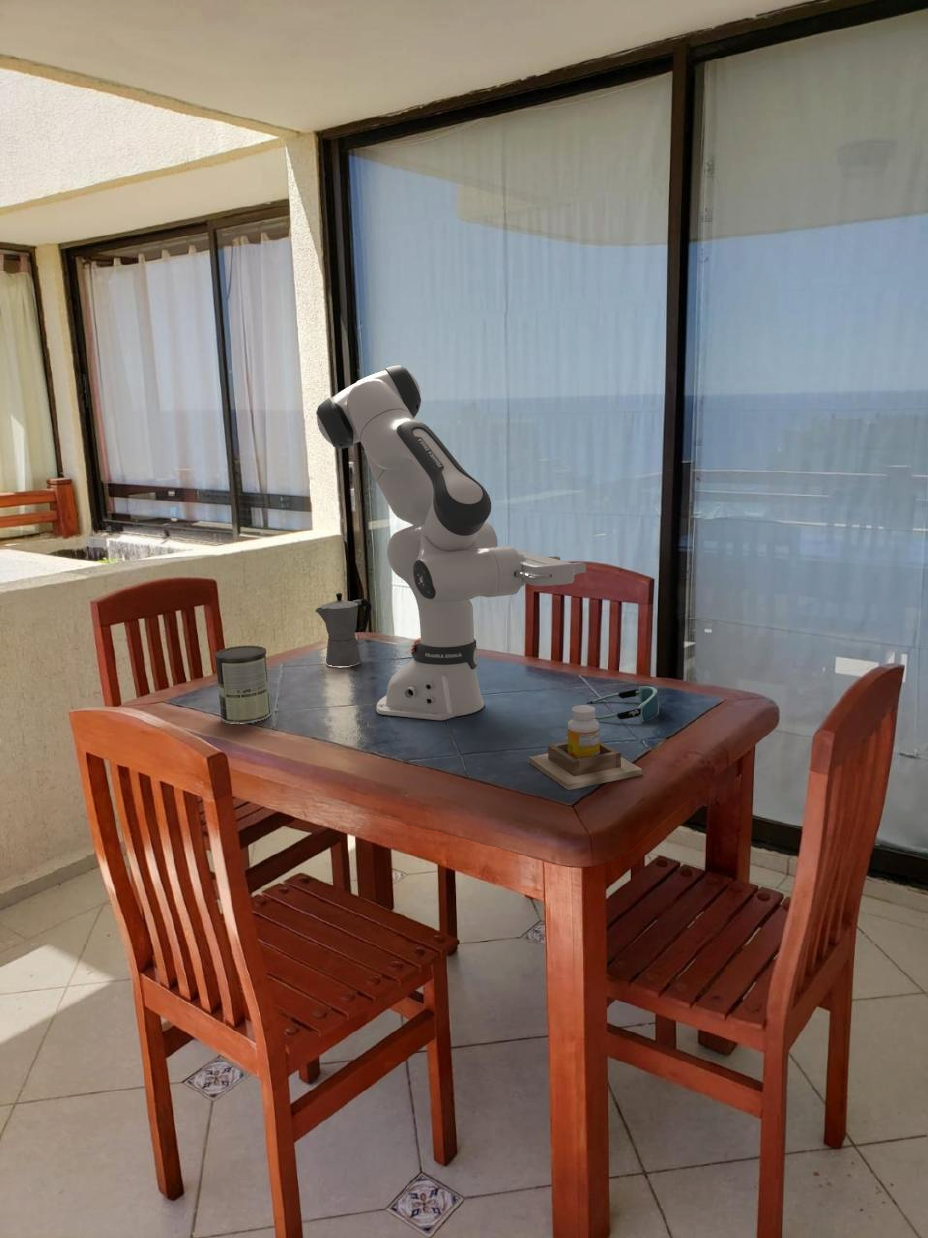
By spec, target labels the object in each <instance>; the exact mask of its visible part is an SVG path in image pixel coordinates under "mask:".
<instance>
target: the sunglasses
mask: <svg viewBox="0 0 928 1238" xmlns="http://www.w3.org/2000/svg"><path fill="white" fill-rule="evenodd" d="M657 693H658V689H657V688H655V687H652V686H639V687H638V688H636V689H631V690H626V691H622V692H616V693H612V694H610V695H609V694H608V695H605V696H602V697H599V698H596V699H593V700H591V701H588V702H586V705H589V704H596V703H600V702H602V701H605V700H610V699H614V698H618V697H619V698H620V699H629V698H634V697H635V698H636V697H638V699H639V703H640V704H639V705H638V707H637V708H634V709H631V710H626V711H622V712H618V713H613V714H612V713H611V714H608V715H601V716H595V718H594V719H595V720H597V721H603V720H604V721H605V720H612V719H615V718H618V719H619V720H621V721H622V720H627V719H632V718H637V717H638V719H639V721H640V722H641V723H645V722H644V721H646V722H648V721H647V720H649V719H651V718H653V717H655V716H656V715H657V714H658V715H659V713H660V701H658V695H657ZM658 715H657V716H658ZM657 716H656V717H657ZM656 717H655V718H656ZM653 719H654V718H653ZM651 720H652V719H651ZM649 721H650V720H649Z"/></svg>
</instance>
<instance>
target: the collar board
mask: <svg viewBox="0 0 928 1238" xmlns="http://www.w3.org/2000/svg"><path fill="white" fill-rule="evenodd" d="M528 764H530V765H532V766H533V767H534V768H536V769H537V770H539V771H540V772H541V773H543V774H544V775H546V776H547V777H549V778H551V779H552V780H553V781H555V782H556V783H557V784H558V785H560V786H561V787H563V788H565V789H566V790H567V791H571V790H577V789H581V788H586V787H591V786H595V785H596V786H597V785H600V784H604V783H609V782H615V781H620V780H623V779H624V780H625V779H628V778H634V777H639V776H642V775H643V768H641V767H639V766H637V765H636V764H634V763H632V762H630V761H628V760H627V759H625V758H624V757H622V752H620V751H618V750H617V749H615V748H614V747H612V746H610V745H608V744H607V743H605V742H603V741H601V740H600V755H595V756H590V757H585V758H579V759H575V758H574V757H572V756H570V755H569V754H568V741H564V742H560V743H559V742H558V743H554V744H548V745H547V753H543V754H538V755H531V756H528Z"/></svg>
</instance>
